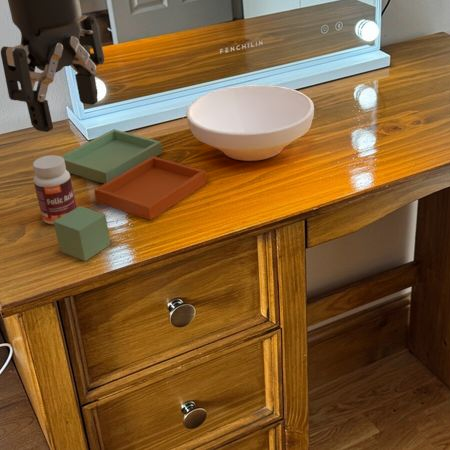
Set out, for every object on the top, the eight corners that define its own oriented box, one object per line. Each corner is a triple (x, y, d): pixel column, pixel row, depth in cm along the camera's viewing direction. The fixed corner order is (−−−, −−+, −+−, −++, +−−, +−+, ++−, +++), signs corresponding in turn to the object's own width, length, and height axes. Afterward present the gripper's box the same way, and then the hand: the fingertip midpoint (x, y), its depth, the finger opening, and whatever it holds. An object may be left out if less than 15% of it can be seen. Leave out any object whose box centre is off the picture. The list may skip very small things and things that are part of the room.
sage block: (85, 261, 95) (78, 230, 93) (60, 251, 97) (53, 221, 95) (111, 244, 98) (105, 214, 96) (86, 235, 100) (80, 205, 98)
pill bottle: (52, 229, 102) (39, 173, 97) (36, 216, 105) (23, 161, 100) (84, 216, 104) (73, 161, 100) (67, 204, 108) (56, 150, 103)
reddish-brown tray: (150, 220, 103) (148, 207, 102) (96, 202, 108) (94, 189, 107) (207, 183, 112) (205, 170, 111) (154, 167, 117) (152, 155, 116)
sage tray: (107, 185, 112) (105, 173, 111) (59, 169, 117) (56, 157, 116) (162, 153, 121) (161, 141, 120) (115, 140, 126) (113, 128, 125)
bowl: (207, 188, 110) (202, 143, 107) (179, 136, 126) (174, 95, 122) (333, 164, 116) (333, 120, 112) (291, 117, 131) (289, 77, 128)
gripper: (54, -38, 90) (79, 91, 99) (-35, -8, 79) (1, 135, 88) (106, -34, 88) (127, 99, 96) (22, -3, 77) (54, 144, 85)
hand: (67, 116), depth 92 cm, fingers open, 8 cm apart
